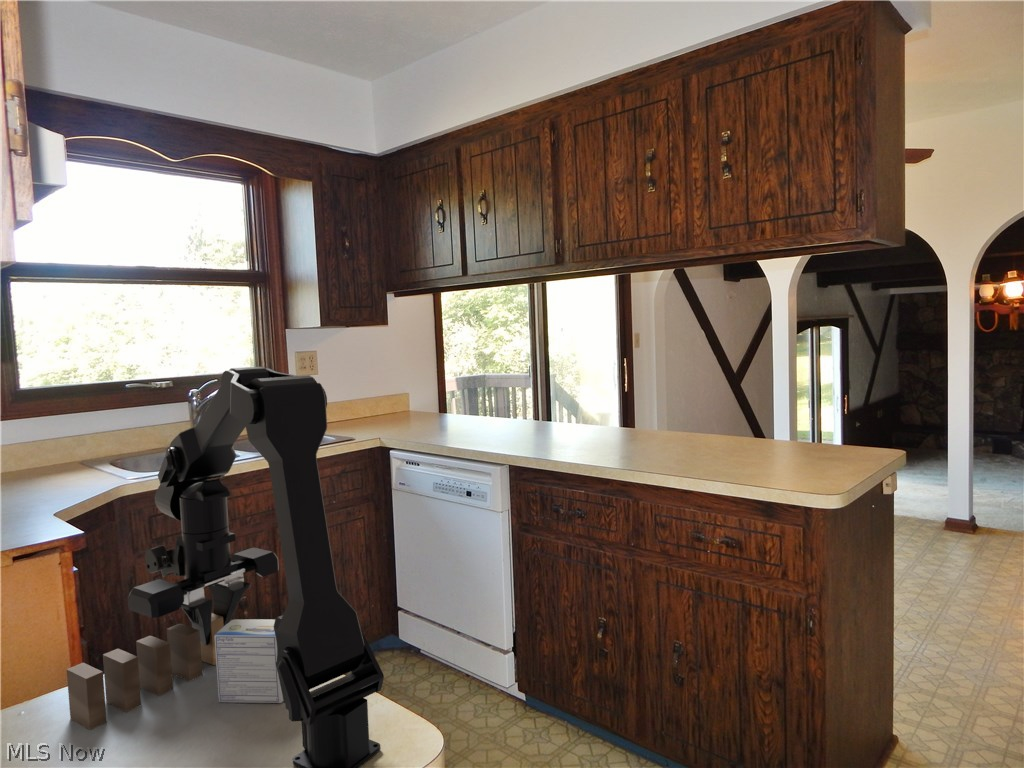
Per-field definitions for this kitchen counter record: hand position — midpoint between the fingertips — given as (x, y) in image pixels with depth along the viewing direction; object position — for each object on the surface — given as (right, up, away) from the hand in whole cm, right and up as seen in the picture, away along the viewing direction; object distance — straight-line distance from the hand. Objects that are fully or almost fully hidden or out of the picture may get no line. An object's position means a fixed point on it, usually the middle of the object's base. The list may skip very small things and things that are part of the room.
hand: (212, 641), depth 90 cm
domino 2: (-6, -4, -10) cm, 12 cm away
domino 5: (-1, -3, +1) cm, 3 cm away
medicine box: (+9, -3, -9) cm, 13 cm away
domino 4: (-2, -3, -3) cm, 5 cm away
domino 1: (-8, -4, -13) cm, 16 cm away
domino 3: (-4, -3, -7) cm, 8 cm away
